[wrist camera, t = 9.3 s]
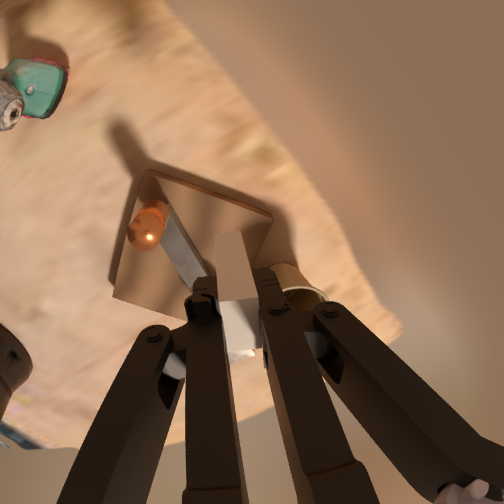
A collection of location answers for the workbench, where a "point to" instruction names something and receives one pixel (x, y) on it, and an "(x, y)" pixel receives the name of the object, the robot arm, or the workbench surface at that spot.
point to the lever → (171, 247)
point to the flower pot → (297, 287)
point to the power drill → (30, 89)
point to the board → (199, 232)
